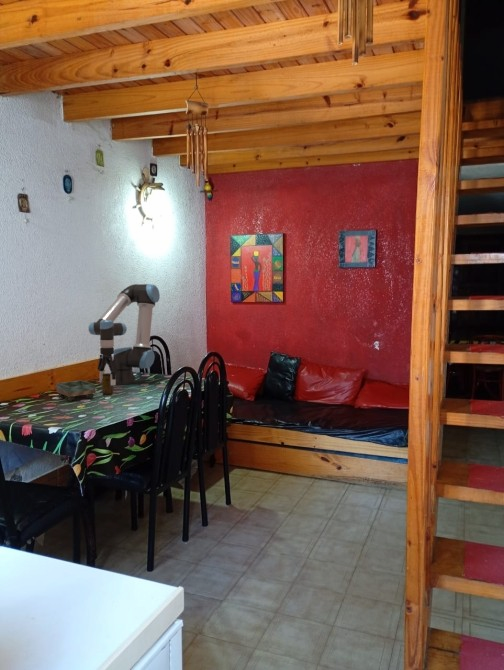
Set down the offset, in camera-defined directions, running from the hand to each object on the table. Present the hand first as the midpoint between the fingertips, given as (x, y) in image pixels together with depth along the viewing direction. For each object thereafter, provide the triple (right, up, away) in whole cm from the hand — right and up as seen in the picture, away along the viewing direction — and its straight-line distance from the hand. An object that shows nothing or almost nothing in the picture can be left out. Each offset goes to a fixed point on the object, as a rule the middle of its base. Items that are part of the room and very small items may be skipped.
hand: (107, 383), depth 307 cm
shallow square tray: (-15, -7, -9) cm, 19 cm away
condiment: (0, -7, +1) cm, 7 cm away
